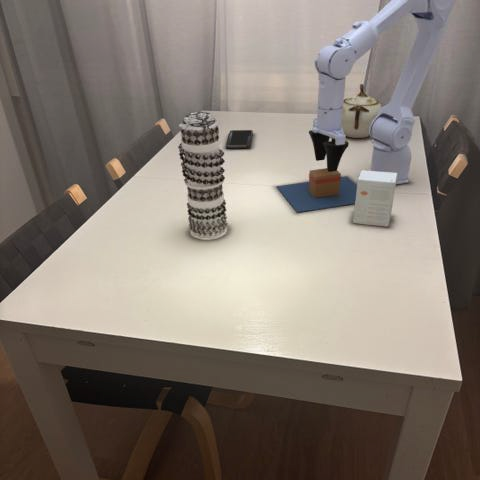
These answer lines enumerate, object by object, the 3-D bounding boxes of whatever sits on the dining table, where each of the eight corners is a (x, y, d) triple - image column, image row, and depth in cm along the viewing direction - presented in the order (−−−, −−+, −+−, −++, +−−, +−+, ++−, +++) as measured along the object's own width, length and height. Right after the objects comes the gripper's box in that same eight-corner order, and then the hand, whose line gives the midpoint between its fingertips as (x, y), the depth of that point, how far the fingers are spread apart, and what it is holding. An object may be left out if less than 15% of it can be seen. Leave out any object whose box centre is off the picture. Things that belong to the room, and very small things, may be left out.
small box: (390, 216, 110) (398, 172, 103) (388, 227, 105) (396, 182, 99) (355, 212, 112) (361, 169, 105) (352, 223, 108) (357, 178, 101)
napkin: (346, 177, 128) (346, 176, 128) (374, 201, 116) (374, 200, 116) (276, 187, 125) (276, 186, 125) (297, 213, 113) (297, 211, 113)
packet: (332, 187, 123) (333, 166, 119) (339, 194, 119) (341, 173, 116) (308, 191, 122) (309, 170, 118) (314, 198, 118) (316, 177, 115)
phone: (225, 145, 148) (230, 130, 160) (225, 148, 149) (230, 133, 161) (250, 145, 148) (253, 129, 159) (250, 148, 148) (253, 133, 160)
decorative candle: (183, 226, 109) (168, 113, 94) (220, 218, 112) (212, 106, 96) (195, 244, 103) (182, 125, 87) (235, 234, 105) (229, 117, 90)
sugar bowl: (337, 124, 165) (341, 76, 155) (381, 126, 161) (388, 78, 152) (330, 142, 150) (334, 91, 141) (378, 145, 147) (385, 93, 137)
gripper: (302, 100, 112) (300, 157, 121) (326, 117, 101) (321, 178, 110) (330, 97, 113) (326, 153, 122) (356, 113, 102) (350, 174, 111)
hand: (326, 165), depth 116 cm, fingers open, 7 cm apart
